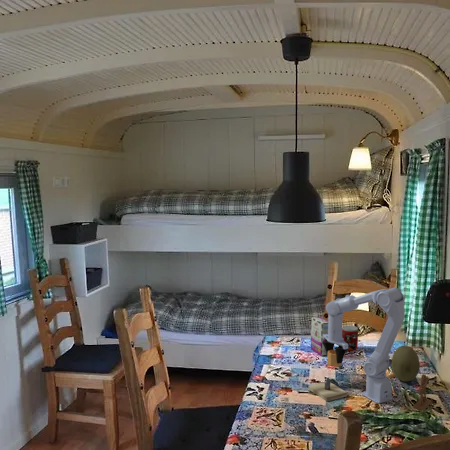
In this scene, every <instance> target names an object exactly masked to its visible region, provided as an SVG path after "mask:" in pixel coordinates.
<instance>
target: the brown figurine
mask: <svg viewBox="0 0 450 450" xmlns="http://www.w3.org/2000/svg"><path fill="white" fill-rule="evenodd" d="M420 383H421V384H420V385H419V387H418V395H419V396H420V397H419V400H417V401H416V402H415V404H414V405H412V407H413V409H415V410H419V411H422V412H424V411H425V410H427V408H428V407H429V406H430V405H431V404H432V403H433V402H432V400H431V399H428V397H427V394H426V393H427V392H426V387H427V386H428V383H429V377H428V376H427V375H426V374H422V375H421V378H420Z"/></svg>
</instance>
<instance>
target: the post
mask: <svg viewBox="0 0 450 450" xmlns="http://www.w3.org/2000/svg"><path fill="white" fill-rule="evenodd" d="M324 382H325V390H330V383H331V379H330V378H329V377H326V378H324Z"/></svg>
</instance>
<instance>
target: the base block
mask: <svg viewBox="0 0 450 450" xmlns="http://www.w3.org/2000/svg"><path fill="white" fill-rule="evenodd" d="M307 387H308V391H311V392H312V393H313V394H314V395H317V396H318V397H319V398H321V399H322V400H324V401H326V402H329V401H333V400H339V399H342V398H345V397H348V392H347V391H345V390H344V389H342V388H340V387H338V386H337V385H336V384H334V383H332V382H330V390H325V381H323V382H317V383H314V384H310V385H307Z"/></svg>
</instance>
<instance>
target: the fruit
mask: <svg viewBox="0 0 450 450" xmlns="http://www.w3.org/2000/svg"><path fill="white" fill-rule="evenodd" d="M420 367H421V365H420V359H419V356H418V353H417V351H416V350H415V349H414V348H412V347H411V346H408V345H400V346H399V347H397V348H396V349H395V350H394V352H393V354H392V358H391V369H392V373H393V374H394V376H395V377H396V378H397V379H398V380H399V381H400V382H401V381H402V382H405V383H406V382H410V381H411V382H412V381H413V380H414V379H416V378H417V377H418V374H419V371H420Z"/></svg>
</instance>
